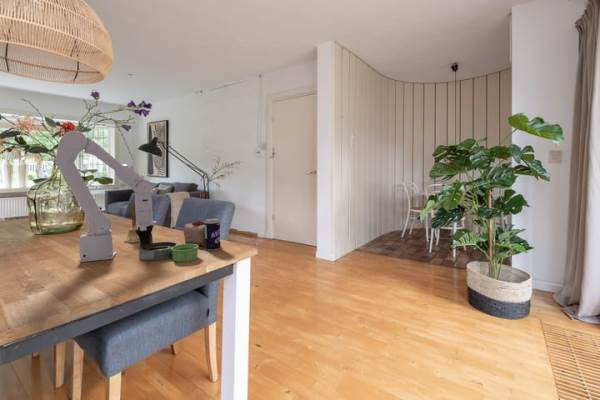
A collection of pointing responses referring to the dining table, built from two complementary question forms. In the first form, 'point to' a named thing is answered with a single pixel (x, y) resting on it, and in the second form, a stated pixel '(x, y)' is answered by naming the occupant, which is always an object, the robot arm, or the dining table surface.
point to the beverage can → (212, 234)
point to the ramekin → (185, 252)
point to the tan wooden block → (149, 241)
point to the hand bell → (132, 233)
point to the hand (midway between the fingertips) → (146, 245)
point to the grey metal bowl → (156, 251)
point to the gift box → (195, 233)
